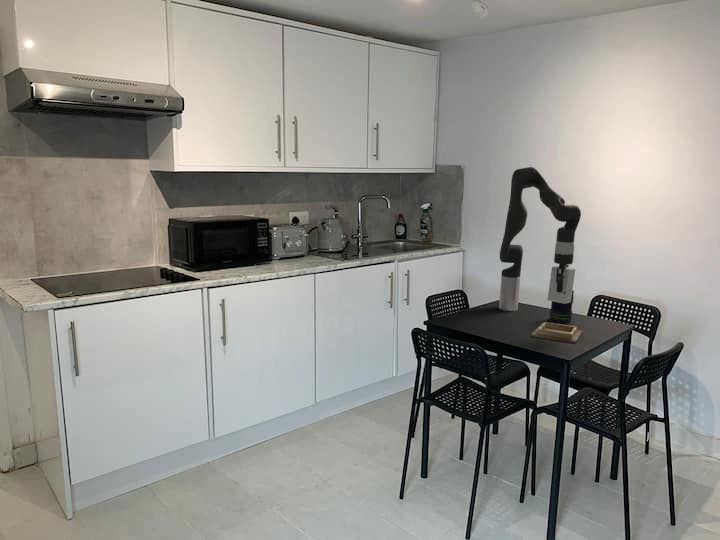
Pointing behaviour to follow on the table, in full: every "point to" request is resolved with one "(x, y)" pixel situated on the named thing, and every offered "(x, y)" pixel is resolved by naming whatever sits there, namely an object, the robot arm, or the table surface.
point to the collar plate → (557, 332)
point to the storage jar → (561, 311)
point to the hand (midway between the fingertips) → (560, 290)
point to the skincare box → (567, 286)
